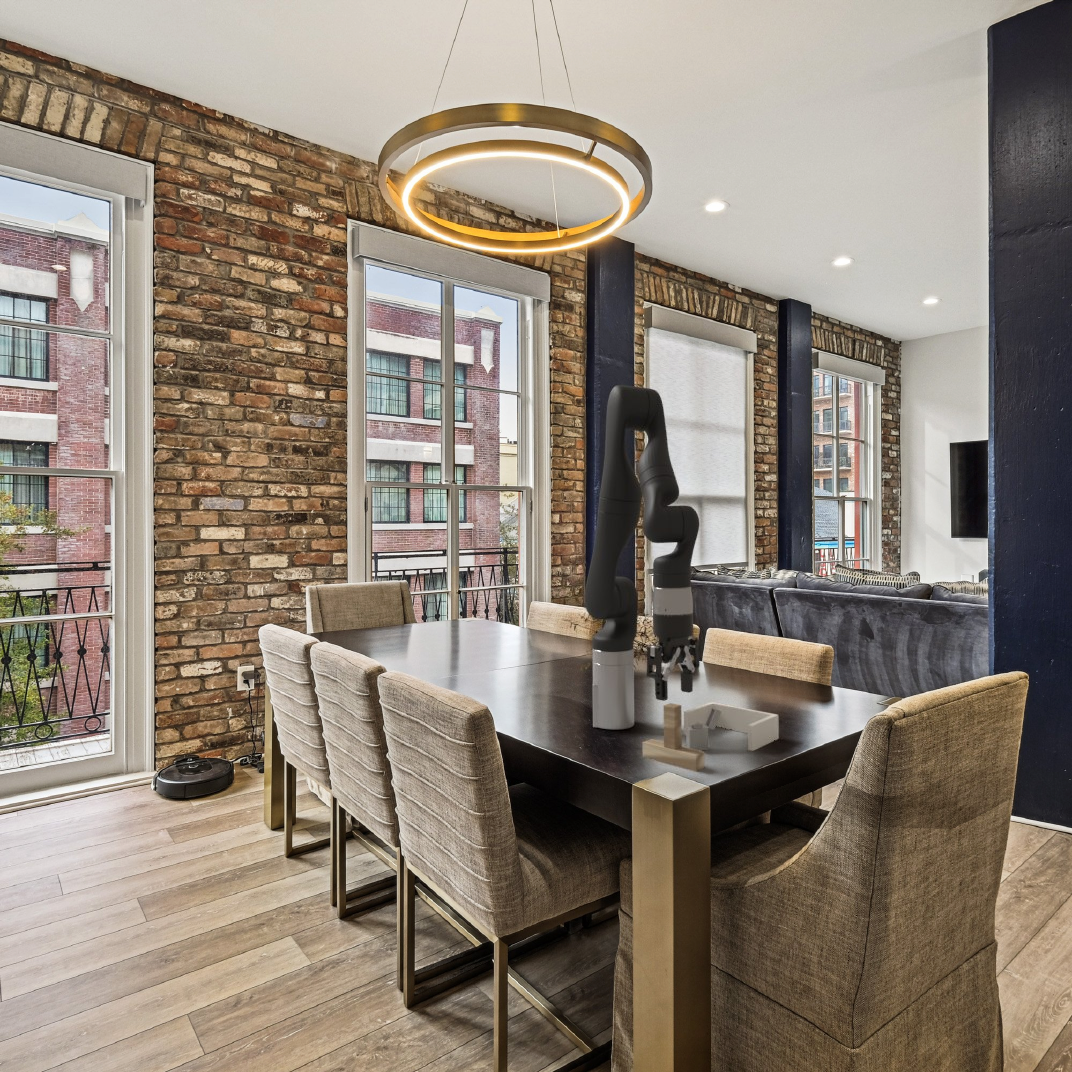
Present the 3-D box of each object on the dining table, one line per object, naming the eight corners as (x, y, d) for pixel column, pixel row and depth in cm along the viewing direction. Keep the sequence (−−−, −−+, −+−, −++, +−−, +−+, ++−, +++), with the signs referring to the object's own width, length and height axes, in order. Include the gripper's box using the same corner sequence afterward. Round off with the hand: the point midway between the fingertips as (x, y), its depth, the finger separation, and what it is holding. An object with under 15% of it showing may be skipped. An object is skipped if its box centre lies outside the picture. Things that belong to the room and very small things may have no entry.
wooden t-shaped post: (695, 772, 134) (695, 712, 134) (642, 757, 143) (642, 701, 142) (704, 767, 136) (704, 709, 136) (651, 753, 145) (651, 698, 144)
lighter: (690, 751, 145) (689, 711, 145) (686, 748, 147) (685, 709, 147) (721, 748, 147) (721, 708, 147) (717, 745, 149) (717, 706, 149)
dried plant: (668, 606, 236) (550, 553, 220) (723, 628, 207) (591, 568, 191) (630, 693, 235) (509, 645, 219) (680, 727, 205) (544, 675, 190)
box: (752, 750, 145) (752, 726, 145) (684, 734, 156) (683, 711, 156) (778, 738, 153) (778, 714, 153) (711, 724, 164) (711, 701, 164)
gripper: (668, 616, 131) (670, 706, 131) (709, 608, 141) (711, 691, 142) (634, 613, 136) (636, 700, 137) (676, 606, 147) (678, 686, 147)
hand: (674, 695), depth 139 cm, fingers open, 8 cm apart
